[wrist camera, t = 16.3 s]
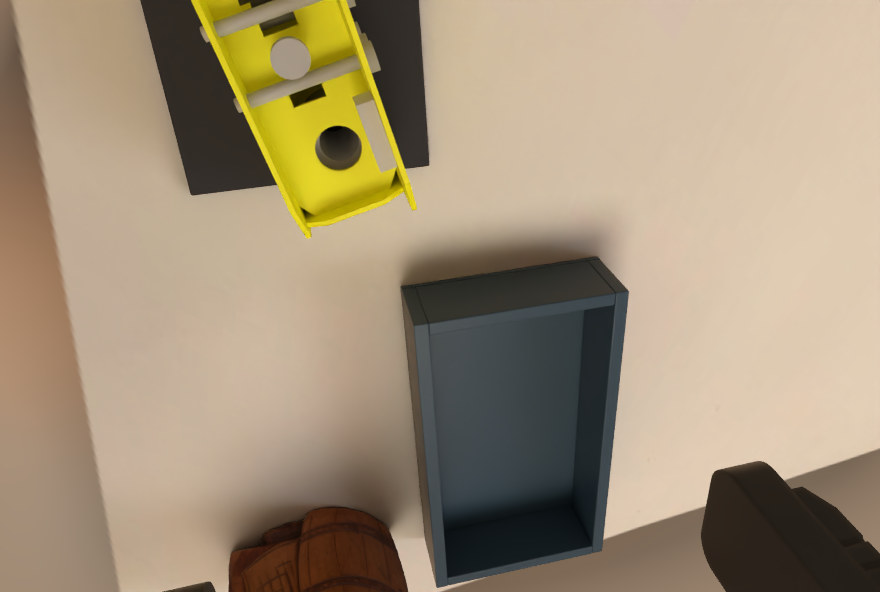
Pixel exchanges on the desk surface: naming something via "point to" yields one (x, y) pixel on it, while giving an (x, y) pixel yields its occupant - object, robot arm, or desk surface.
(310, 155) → the yellow toy chassis
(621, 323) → the bin
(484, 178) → the desk surface
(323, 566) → the wooden figurine
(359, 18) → the mat
